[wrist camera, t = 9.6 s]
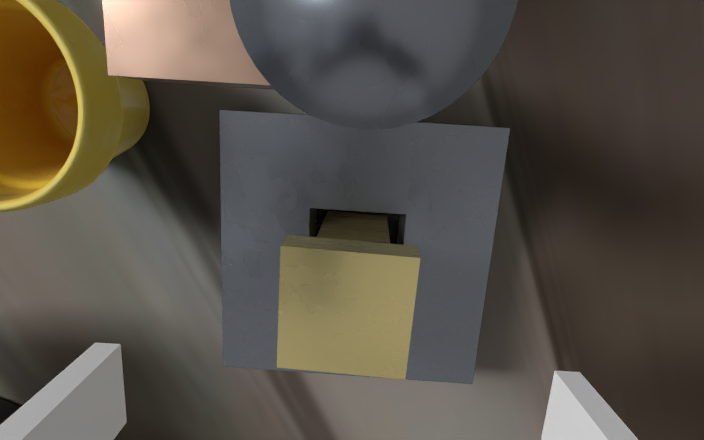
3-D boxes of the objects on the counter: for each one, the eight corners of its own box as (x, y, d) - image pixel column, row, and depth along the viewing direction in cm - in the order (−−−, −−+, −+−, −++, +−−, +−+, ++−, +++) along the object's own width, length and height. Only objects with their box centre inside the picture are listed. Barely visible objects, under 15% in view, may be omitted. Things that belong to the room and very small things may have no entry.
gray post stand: (234, 334, 31) (20, 696, 12) (231, 25, 26) (-153, -227, 7) (458, 350, 31) (615, 744, 12) (500, 42, 26) (905, -171, 7)
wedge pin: (309, 278, 30) (276, 367, 20) (313, 195, 28) (280, 245, 18) (394, 285, 30) (405, 379, 20) (403, 202, 28) (420, 258, 18)
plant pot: (164, 6, 26) (48, -56, 16) (194, 174, 28) (108, 204, 19) (2, 23, 27) (-200, -27, 17) (45, 187, 29) (-110, 223, 19)
